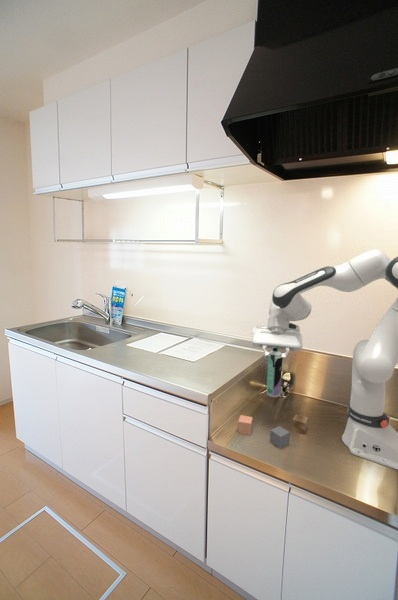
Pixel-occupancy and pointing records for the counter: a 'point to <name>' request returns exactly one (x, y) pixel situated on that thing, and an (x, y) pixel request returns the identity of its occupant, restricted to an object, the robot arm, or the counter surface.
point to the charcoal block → (279, 437)
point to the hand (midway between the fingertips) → (275, 357)
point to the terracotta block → (245, 425)
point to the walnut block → (300, 424)
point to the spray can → (274, 373)
